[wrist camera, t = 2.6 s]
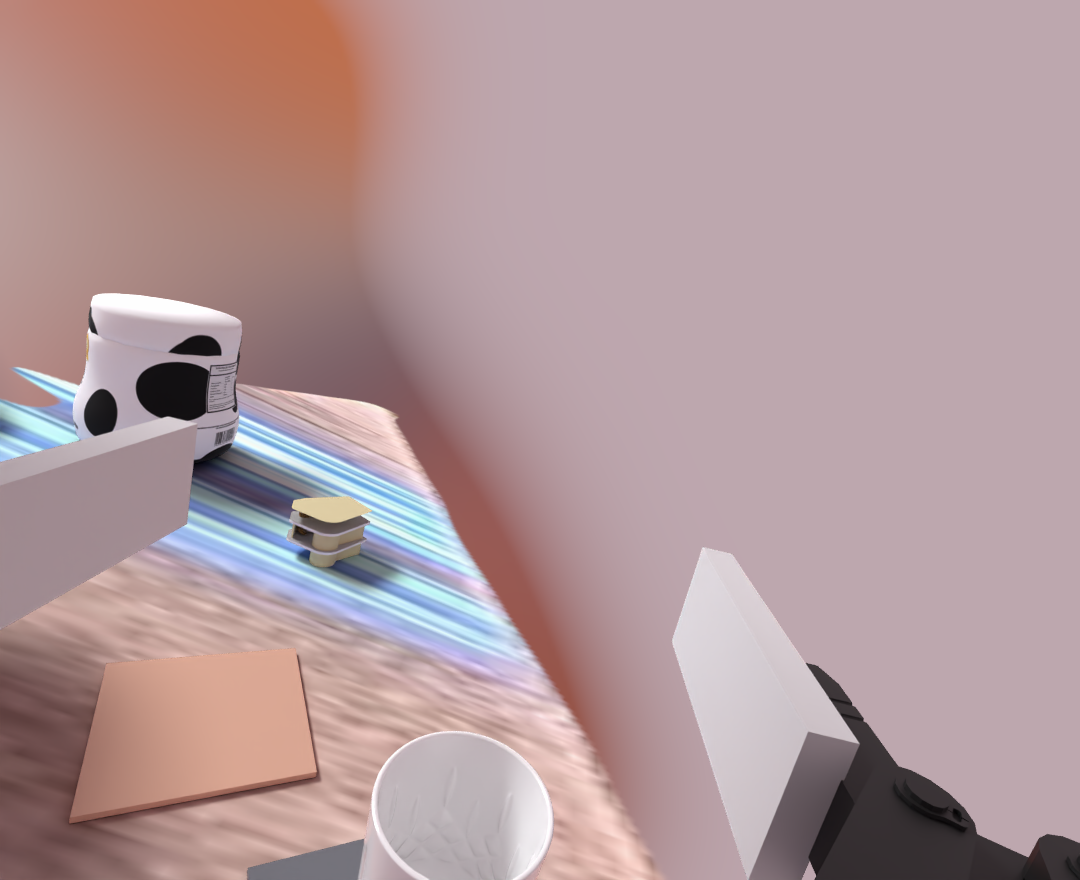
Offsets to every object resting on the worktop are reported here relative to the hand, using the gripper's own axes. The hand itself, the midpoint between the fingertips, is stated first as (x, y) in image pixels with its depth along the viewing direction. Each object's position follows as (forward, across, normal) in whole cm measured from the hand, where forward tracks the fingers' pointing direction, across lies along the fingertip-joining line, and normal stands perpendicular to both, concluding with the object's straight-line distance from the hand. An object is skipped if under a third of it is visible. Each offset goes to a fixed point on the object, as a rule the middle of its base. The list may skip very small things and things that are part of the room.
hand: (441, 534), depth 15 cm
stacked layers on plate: (+42, -17, -24) cm, 52 cm away
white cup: (+7, +2, -25) cm, 26 cm away
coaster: (+18, -15, -24) cm, 34 cm away
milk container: (+56, -44, -23) cm, 75 cm away
